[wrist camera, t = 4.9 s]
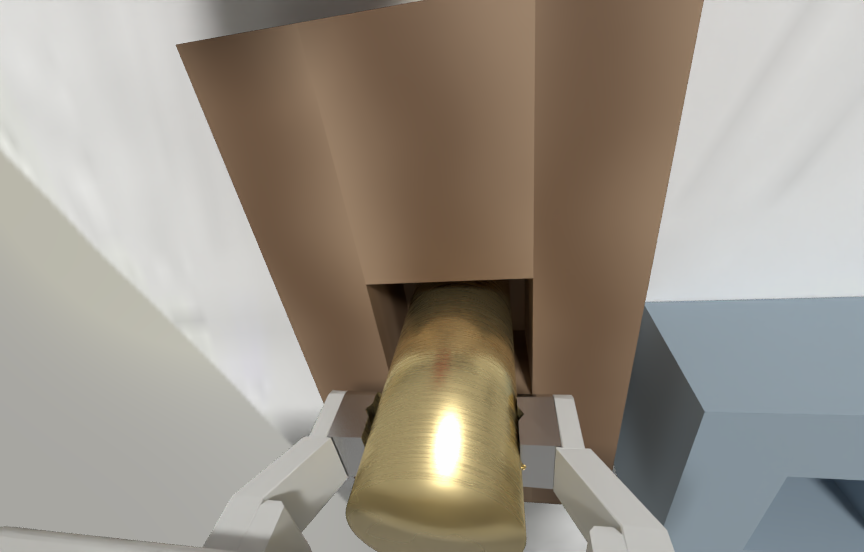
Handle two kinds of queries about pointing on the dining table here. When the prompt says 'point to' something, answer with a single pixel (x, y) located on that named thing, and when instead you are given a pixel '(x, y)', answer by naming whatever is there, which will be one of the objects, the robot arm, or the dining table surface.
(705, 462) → the dock block
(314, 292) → the wooden socket block
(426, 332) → the brass pin
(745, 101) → the dining table surface
